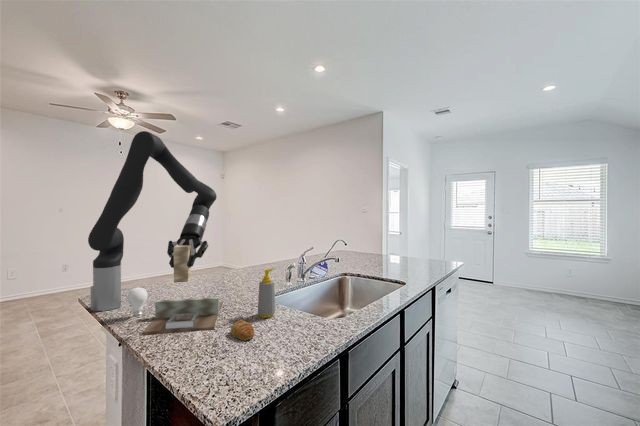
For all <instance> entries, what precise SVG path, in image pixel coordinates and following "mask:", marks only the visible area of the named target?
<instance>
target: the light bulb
mask: <svg viewBox="0 0 640 426" xmlns="http://www.w3.org/2000/svg"><path fill="white" fill-rule="evenodd" d="M148 296H149V295H148V291H147V290H146V288H143V287H135V288H132V289H131V290H129V292H128V294H127V296H126V300H127V303H128V304H129V305H130V307H131V309H132V311H133V312H132V315H133V316H139V315H142V314H143V309H144V304H145V303H146V301H147V300H148Z"/></svg>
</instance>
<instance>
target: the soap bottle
mask: <svg viewBox="0 0 640 426" xmlns="http://www.w3.org/2000/svg"><path fill="white" fill-rule="evenodd" d="M273 270H275V268H273V267H272V268H271V267H270V268H266V269H263V271H264V276H263V278H262V279H261V281H259V283H258V297H257V298H258V299H257V314H258V316H259V317H260V318H262V319H267V318H268V319H269V318H272V317H274V315H275V313H276V292H275V291H276V290H275V281H274V280H272V278H271V276H270V275H269V274H270V273H269V272H271V271H273Z"/></svg>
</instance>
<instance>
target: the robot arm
mask: <svg viewBox="0 0 640 426" xmlns="http://www.w3.org/2000/svg"><path fill="white" fill-rule="evenodd" d="M128 149H129V150H128V154H127V156H126V158H125V161H124V164H123V166H122V168H121V170H120V172H119V175H118V178H117V179H116V181H115V184H114V185H113V188H112V189H111V191H110V194H109V197H108V198H107V201H106V203H105V206H104V207H103V210H102V212H101V214H100V216H99V217H98V220H96V222H95V224H94V225H93V227H92V229H91V231H90V233H89V235H88V239H87V242H88V246H89V247H90V248H91V249H92V250H94V251H99V253H98V255H97V256H96V258H95V259H93V261H92V283H93V284H92V285H91V286H90V311H94V312H106V311H111V310H115V309H117V308H120V307H121V306H122V260H123V256H124V246H125V245H124V244H125V243H124V241H125V238H124V234H123V231H122V230H121V229H120V228H118V226H119V224H120V222H121V220H122V219H123V218H124V217H125V216H126V215H127V213H128V212H130V210H131V209H132V208H133V207H134V206H135V205H136V203H137V201H138V199H139V197H140V195H141V193H142V190H143V185H144V170H145V167H146V164H147V163H148V160H149V159H150V158H151V159H153V160H154V161H156V162H157V163H158V164H159V165H161V167H163V168H164V170H165V171H166V172H167V174H168V175H169V176H170V178H171V179H172V180H173V181H174V182H175V183H176V184H177V185H178V186H179V188H181V189H182V190H183V191H184V192H185V193H186V194H191V193H194V192H195V193H196V194H197V195H196V196H195V198H194V200H193V203H192V206H191V210H190V212H189V215H188V217H187V218H186V219H185V220H186V221H185V223H184V225H183V227H182V230H181V232H180V235H179V238H178V239H177V241H172V240H169V241H168V246H167V255H168V257H169V258H170V260H169V263H168V264H169V266H170V267H171V268H173V269H174V247H175V246H181V245H191V248H190V250H191V256H190V257H189V260H188V263H187V266H188V268H191V269H192V267H193V266H194V264H195V261H196V259H197V258H199V259H200V258H202V257H203V255H204V254H205V252H206V251H207V249H208V248H209V244H208V242H207V241H208V240H203V241H202V239H203V237H204V233H205V231H206V227H207V223H208V220H209V216H210V209H211V206H212V205H213V204H214V203H215V201H216V200H217V193H216V192H215V190H214V189H213V188H212V187H210V186H209V185H207V184H206V183H203V182H202V181H200V180H198V179H197V178H196V177H195V175H193V173H191V172H190V171H189V170H188V169H187V168H186V167H185V166H184V165H183V164H182V163H180V161H179V160H178V159H176V157H175V156H174V155H173V154H172V152H171V151H170V150H169V149H168V147H167V146H166V144H165V143H164V142H163V140H162V139H161V138H160V137H159V136H157V135H156V134H153V133H152V132H149V131H147V130H145V131H139V132H138V133H135V135H134V136H133V138H132V140H131V143H130V146H129V148H128ZM197 249H198V250H197Z"/></svg>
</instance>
